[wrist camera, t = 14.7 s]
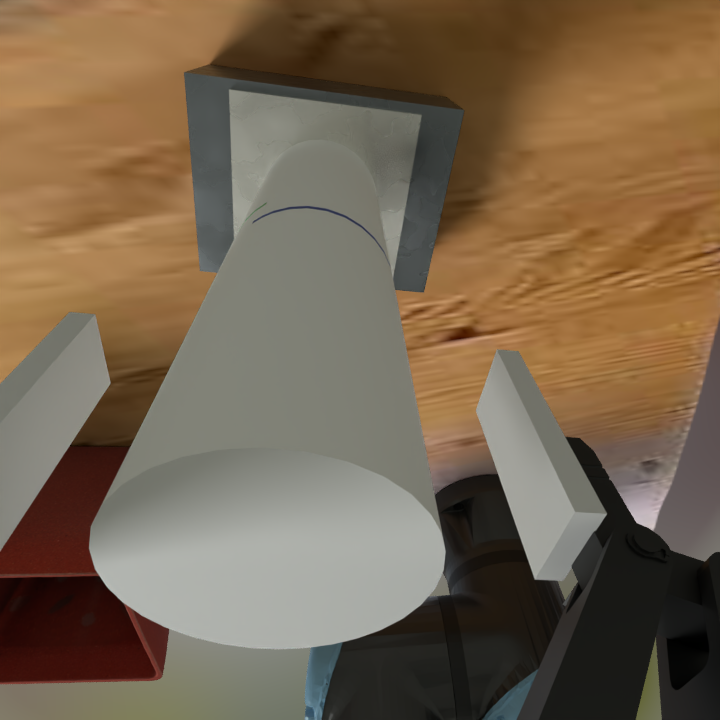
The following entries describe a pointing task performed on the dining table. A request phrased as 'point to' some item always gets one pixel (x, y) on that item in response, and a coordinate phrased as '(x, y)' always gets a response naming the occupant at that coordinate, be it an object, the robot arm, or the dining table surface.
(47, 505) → the plant pot
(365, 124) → the grey rectangular block
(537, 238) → the dining table surface
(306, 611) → the cylindrical container
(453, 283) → the dining table surface
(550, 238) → the dining table surface
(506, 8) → the dining table surface
